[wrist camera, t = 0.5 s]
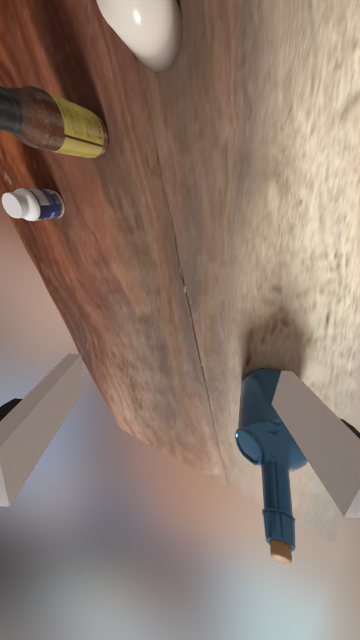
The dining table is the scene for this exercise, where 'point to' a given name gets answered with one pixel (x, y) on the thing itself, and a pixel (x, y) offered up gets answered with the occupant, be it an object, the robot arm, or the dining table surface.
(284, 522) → the wine bottle
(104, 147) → the sauce bottle
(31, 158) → the dining table surface
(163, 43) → the white rounded cylinder
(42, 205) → the pill bottle
